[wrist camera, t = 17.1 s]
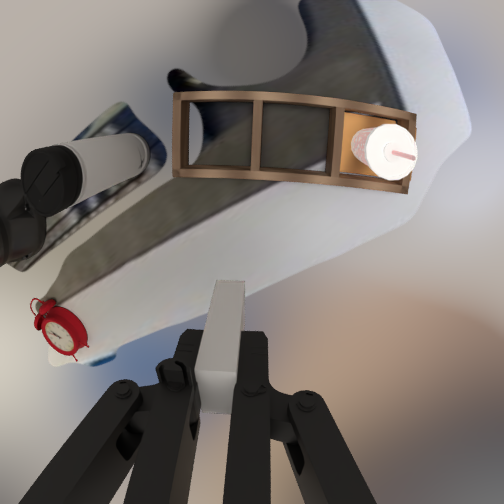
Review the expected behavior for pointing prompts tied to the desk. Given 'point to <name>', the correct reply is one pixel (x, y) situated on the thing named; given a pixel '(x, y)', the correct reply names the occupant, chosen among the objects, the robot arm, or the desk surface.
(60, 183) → the travel mug
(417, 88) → the desk surface
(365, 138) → the beverage cup
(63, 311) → the alarm clock
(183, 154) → the walnut rack
